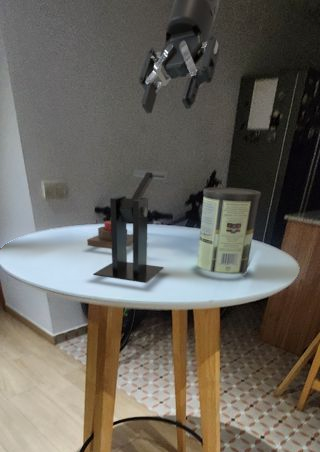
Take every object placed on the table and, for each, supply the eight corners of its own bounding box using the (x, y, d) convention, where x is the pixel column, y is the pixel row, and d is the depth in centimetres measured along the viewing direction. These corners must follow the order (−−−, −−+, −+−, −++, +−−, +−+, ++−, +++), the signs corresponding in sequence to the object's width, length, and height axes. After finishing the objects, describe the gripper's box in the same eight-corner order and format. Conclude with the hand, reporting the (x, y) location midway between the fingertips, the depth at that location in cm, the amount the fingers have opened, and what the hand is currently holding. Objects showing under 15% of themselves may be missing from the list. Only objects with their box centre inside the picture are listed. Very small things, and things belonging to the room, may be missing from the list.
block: (87, 250, 82) (86, 230, 80) (106, 241, 90) (106, 223, 88) (120, 254, 81) (120, 234, 78) (136, 245, 88) (136, 227, 86)
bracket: (116, 266, 73) (114, 192, 65) (163, 273, 71) (167, 197, 63) (93, 280, 65) (88, 198, 58) (145, 288, 63) (147, 204, 55)
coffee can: (225, 261, 80) (236, 186, 71) (257, 275, 72) (273, 193, 64) (185, 266, 75) (192, 186, 67) (215, 281, 68) (227, 194, 60)
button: (102, 231, 82) (101, 222, 81) (108, 228, 85) (108, 220, 84) (116, 233, 81) (116, 224, 80) (123, 230, 84) (122, 221, 83)
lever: (136, 178, 68) (134, 164, 66) (167, 180, 67) (166, 166, 65) (111, 220, 63) (108, 206, 61) (144, 224, 61) (142, 210, 59)
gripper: (150, 1, 64) (122, 94, 65) (223, -22, 57) (191, 84, 58) (169, 42, 70) (144, 127, 72) (237, 26, 63) (208, 120, 65)
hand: (165, 107), depth 65 cm, fingers open, 8 cm apart
